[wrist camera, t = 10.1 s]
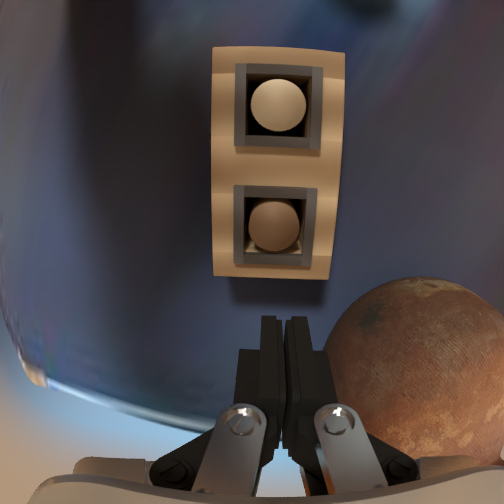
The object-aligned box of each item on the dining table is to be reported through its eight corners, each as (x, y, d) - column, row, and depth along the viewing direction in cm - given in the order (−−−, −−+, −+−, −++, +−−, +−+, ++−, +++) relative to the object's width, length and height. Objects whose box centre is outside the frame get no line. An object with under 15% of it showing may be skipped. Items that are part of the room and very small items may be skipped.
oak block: (223, 61, 25) (211, 45, 19) (329, 66, 25) (346, 51, 19) (222, 249, 33) (212, 278, 27) (318, 252, 32) (329, 282, 26)
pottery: (305, 251, 33) (361, 487, 10) (482, 246, 31) (615, 371, 8) (298, 397, 41) (309, 560, 18) (439, 379, 40) (495, 506, 17)
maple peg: (254, 88, 26) (251, 78, 20) (297, 90, 26) (306, 80, 20) (253, 129, 28) (250, 130, 22) (296, 131, 28) (305, 132, 22)
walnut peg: (252, 185, 30) (249, 201, 24) (293, 187, 30) (301, 204, 24) (251, 224, 32) (248, 250, 26) (291, 226, 31) (297, 252, 25)
